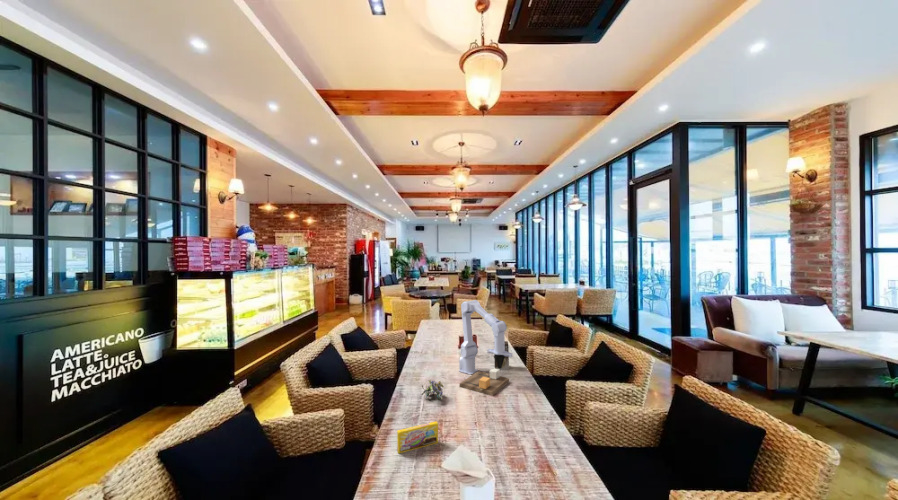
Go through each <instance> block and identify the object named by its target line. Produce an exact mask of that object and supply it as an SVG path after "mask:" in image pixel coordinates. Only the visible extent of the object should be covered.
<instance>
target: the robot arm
mask: <svg viewBox="0 0 898 500" xmlns="http://www.w3.org/2000/svg"><path fill="white" fill-rule="evenodd" d="M460 308H461V309H460V310H461V319H462V321H461V322H462V332H463V342H462V343H461V344H460V355H461V356H460V357H459V360H458V361H459V363H458V365H459V370H458V372H461V373H464V374H469V375H473V374H475V373H476V372H478V371H479V370H478V369H477V368H476V357H477V355H478V352H479V350H478V349H479V348H478V347H477V346H478V345H477V342H475V341H474V340H473V338H474V337H473V329H472V328H473V327H472V314H473V313H475V312H476V313H477V314H478V315H480V316H481V317H483V318H484V319H483V320H484V322H485V323H486V324H487V325H488V326H489V327H490V328H491V331H492V334H493V348H492V349H491V348H488V349H486V351H487V354H491V355H493V359H494V358H495V360H496V363H497V366H498V368H499V369H500V370H502V369H501V368H502V364H503V361H504V358H505V356H507V357H509V359H510V358H512V357H513V353H512V352H510V351H509V352H506V351H505V341H506V340H505V337H506V335H505V332H506V331H507V329H508V326H507V324H506V321H503V320H500V319H498V318H497V317H496V316H495V315H494V314H493V313H488V312H487V311H486V310H485V309H484V307H482V306H481V303H480V301H478V300H477V299H474V300H469V301H468V300H467V301H466V300H465V301H463V302H462V303H461V305H460ZM494 354H495V355H494Z"/></svg>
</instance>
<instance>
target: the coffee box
mask: <svg viewBox="0 0 898 500" xmlns="http://www.w3.org/2000/svg"><path fill="white" fill-rule="evenodd" d="M505 351H506V352H509V353H510V351H509V342H508V341H507V340H505ZM494 355H495V354H493V356H494ZM493 359H494V361H493V362H494V363H493V364H494V365H493V366H494V368H495V369H499V368H498V366H497V363H496V360H495V358H494V357H493ZM500 370H510V357H507V356H505V358H504V361H503V364H502V368H501V369H500Z"/></svg>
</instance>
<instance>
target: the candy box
mask: <svg viewBox="0 0 898 500" xmlns="http://www.w3.org/2000/svg"><path fill="white" fill-rule="evenodd" d="M396 439H397V440H396V444H397V445H396V451H397V454H398V455H399V454H403V453H406V452H410V451H413V450H417V449H421V448H424V447H429V446H431V445H432V446H433V445H436V444H439V422H438V421H431V422H428V423H424V424H423V423H422V424H419V425H413V426H410V427H406V428H402V429H397V430H396Z"/></svg>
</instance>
